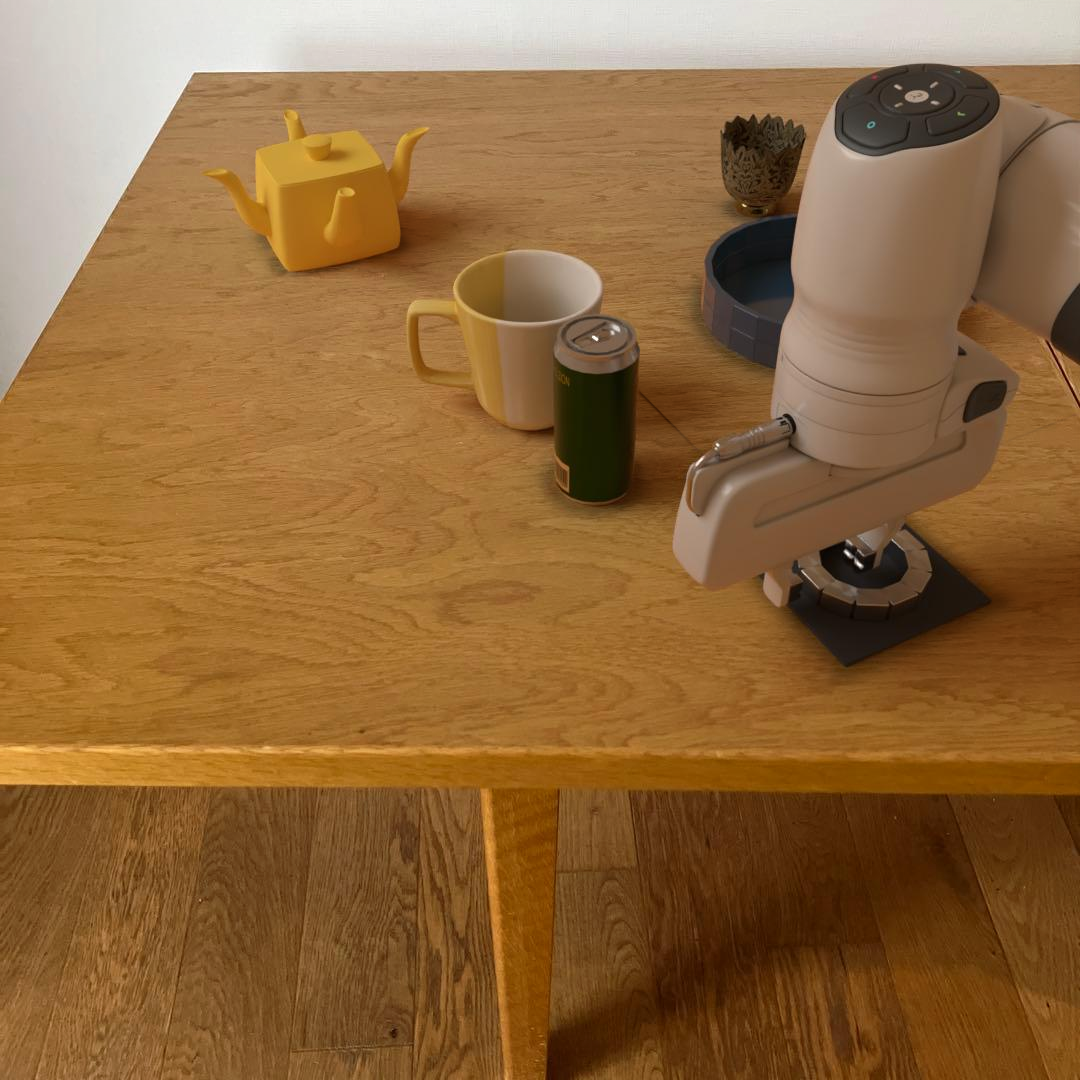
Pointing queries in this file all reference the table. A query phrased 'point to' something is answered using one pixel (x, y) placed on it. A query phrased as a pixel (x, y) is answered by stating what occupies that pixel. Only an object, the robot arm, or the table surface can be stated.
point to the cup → (760, 162)
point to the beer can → (595, 408)
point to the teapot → (324, 196)
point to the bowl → (750, 287)
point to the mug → (510, 329)
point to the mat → (867, 638)
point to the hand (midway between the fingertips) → (820, 580)
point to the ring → (870, 601)
